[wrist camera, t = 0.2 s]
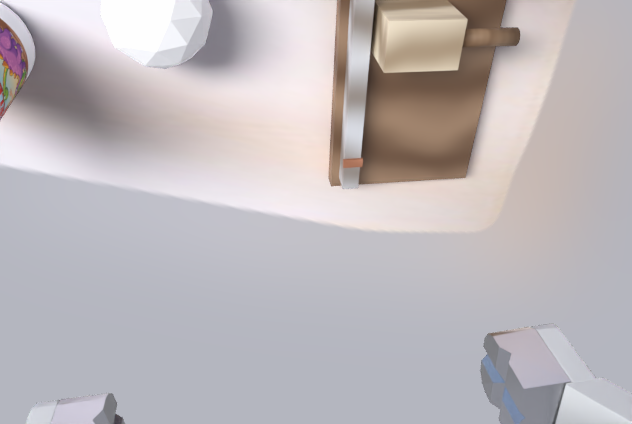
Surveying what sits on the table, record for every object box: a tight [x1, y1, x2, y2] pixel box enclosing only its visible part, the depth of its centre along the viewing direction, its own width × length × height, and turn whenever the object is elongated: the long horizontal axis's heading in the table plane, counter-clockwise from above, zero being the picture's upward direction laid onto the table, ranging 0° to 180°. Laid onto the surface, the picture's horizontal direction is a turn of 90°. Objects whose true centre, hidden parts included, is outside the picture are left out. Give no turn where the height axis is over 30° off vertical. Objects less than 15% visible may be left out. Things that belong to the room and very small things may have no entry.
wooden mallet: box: [370, 0, 520, 73], centre depth 44 cm, size 4×11×5 cm, turn 88°
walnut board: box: [329, 0, 506, 189], centre depth 49 cm, size 22×14×4 cm, turn 179°
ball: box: [101, 0, 213, 69], centre depth 40 cm, size 8×8×8 cm
